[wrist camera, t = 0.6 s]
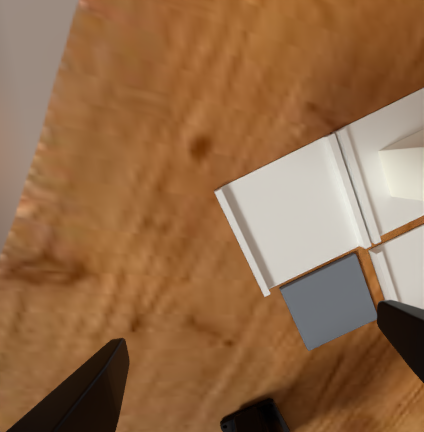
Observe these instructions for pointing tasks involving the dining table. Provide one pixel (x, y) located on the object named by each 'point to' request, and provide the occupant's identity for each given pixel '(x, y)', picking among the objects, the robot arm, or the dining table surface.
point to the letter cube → (405, 167)
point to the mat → (329, 301)
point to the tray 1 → (294, 213)
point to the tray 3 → (401, 267)
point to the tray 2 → (372, 167)
